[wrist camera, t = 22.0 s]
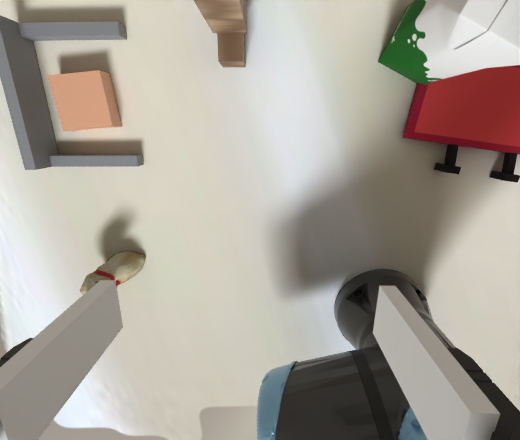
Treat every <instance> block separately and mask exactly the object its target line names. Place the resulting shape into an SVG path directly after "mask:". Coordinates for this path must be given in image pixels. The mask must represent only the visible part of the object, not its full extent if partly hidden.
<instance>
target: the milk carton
mask: <svg viewBox="0 0 520 440" xmlns="http://www.w3.org/2000/svg"><path fill="white" fill-rule="evenodd" d="M378 62H380V63H381V64H383V65H385V66H387V67H389V68H390V69H392V70H394V71H396V72H398V73H400V74H401V75H403V76H405V77H407V78H409V79H410V80H412V81H414V82H416V83H421V84H424V85H427V84H429V83H432V82H435V81H437V80H441V79H445V78H449V77H453V76H457V75H460V74H464V73H468V72H472V71H476V70H480V69H484V68H492V67H503V66H514V65H520V0H415V1H413V2H412V3H411V4H410V5H409V6H408V7H407V9H406V11H405V13H404V14H403V16H402V18H401V20H400V22H399V24H398V26H397V27H396V29H395V31H394V33H393V35H392V37H391V39H390V40H389V42H388V44H387V46H386V48H385V50H384V52H383V53H382V55H381V57H380V59H379V61H378Z"/></svg>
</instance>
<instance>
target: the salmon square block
mask: <svg viewBox="0 0 520 440" xmlns="http://www.w3.org/2000/svg"><path fill="white" fill-rule="evenodd" d="M47 76H48V80H49V83H50V86H51V90H52V93H53V97H54V100H55V104H56V107H57V111H58V114H59V117H60V121H61V124H62V128H63V131H81V130H92V129H103V128H113V127H122V124H121V120H120V116H119V111H118V107H117V102H116V98H115V94H114V89H113V85H112V81H111V76H110V73H106V72H103V71H100V70H96V71H86V72H77V73H67V74H57V75H47Z"/></svg>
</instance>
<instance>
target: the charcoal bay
mask: <svg viewBox="0 0 520 440" xmlns="http://www.w3.org/2000/svg"><path fill="white" fill-rule="evenodd" d="M123 39H127V37H126V29H125V26H124V25H122V24H121V23H120V22H118V21H93V22H22V23H17V22H15V21H13V20H10V19H8V18H5V17H3V16H0V77H1V81H2V85H3V89H4V92H5V96H6V100H7V104H8V107H9V111H10V115H11V119H12V122H13V126H14V130H15V134H16V137H17V141H18V145H19V149H20V153H21V156H22V160H23V164H24V168H25V170H36V169H41V168H46V167H51V166H140V165H144V164H143V156H142V154H98V155H59V154H58V149H57V145H56V140H55V136H54V131H53V127H52V123H51V118H50V114H49V109H48V105H47V100H46V96H45V91H44V87H43V83H42V78H41V74H40V69H39V65H38V60H37V56H36V52H35V47H34V43H33V41H42V40H123Z"/></svg>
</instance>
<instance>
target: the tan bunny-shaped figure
mask: <svg viewBox="0 0 520 440" xmlns="http://www.w3.org/2000/svg"><path fill="white" fill-rule="evenodd" d="M144 262H145V255H143V254H138V253H135V252H132V251H126V252H121V253H118V254H115V255H113V256H112V257H111V258H110V259H109V260H108V262H106V263H105V264H103V265H101V266H100V267H98V268H97V270H96V271H95V272H93V273H91V274H89V275H87V276H86V278H85V280H84V283H83V285H82V287H81V289H80V292H81V293H82V294H83V295H84V294H85V293H86V292H87V291H89V290H90V289H91V288H92V287H93V286H94V285H95V284H97V283H98V282H99V281H100V280H115V281H116V287H117V286H118V285H119V284H121V283H124V282H125V281H127V280H129V279H130V278H132V277H133V276H135V275H136V274H137V273H138V272H139V271H140V270H141V269H142V267H143V265H144Z"/></svg>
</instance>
